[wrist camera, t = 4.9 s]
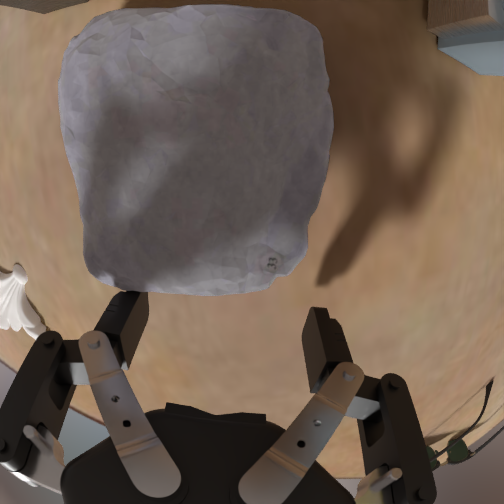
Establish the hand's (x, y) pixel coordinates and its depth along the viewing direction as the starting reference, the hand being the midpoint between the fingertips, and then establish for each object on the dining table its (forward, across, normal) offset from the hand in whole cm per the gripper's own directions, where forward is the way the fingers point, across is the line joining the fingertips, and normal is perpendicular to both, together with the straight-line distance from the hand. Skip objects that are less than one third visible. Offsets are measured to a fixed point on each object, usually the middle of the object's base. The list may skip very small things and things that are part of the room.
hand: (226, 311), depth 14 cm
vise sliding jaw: (+1, -9, -20) cm, 22 cm away
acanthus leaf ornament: (+3, +17, +4) cm, 18 cm away
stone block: (+2, +2, -7) cm, 8 cm away
